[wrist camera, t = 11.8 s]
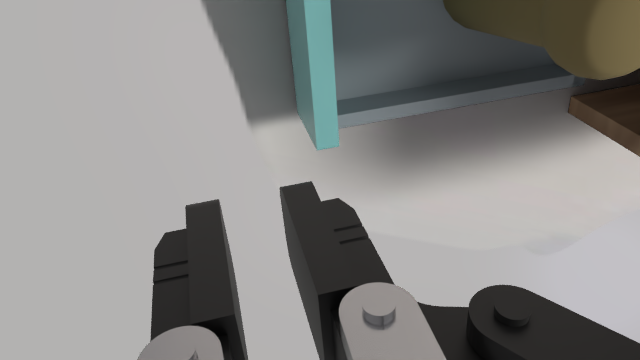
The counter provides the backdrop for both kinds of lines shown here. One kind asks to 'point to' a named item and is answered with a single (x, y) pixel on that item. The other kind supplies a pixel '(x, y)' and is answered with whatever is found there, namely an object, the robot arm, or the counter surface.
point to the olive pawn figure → (563, 30)
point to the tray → (402, 63)
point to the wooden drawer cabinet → (612, 114)
